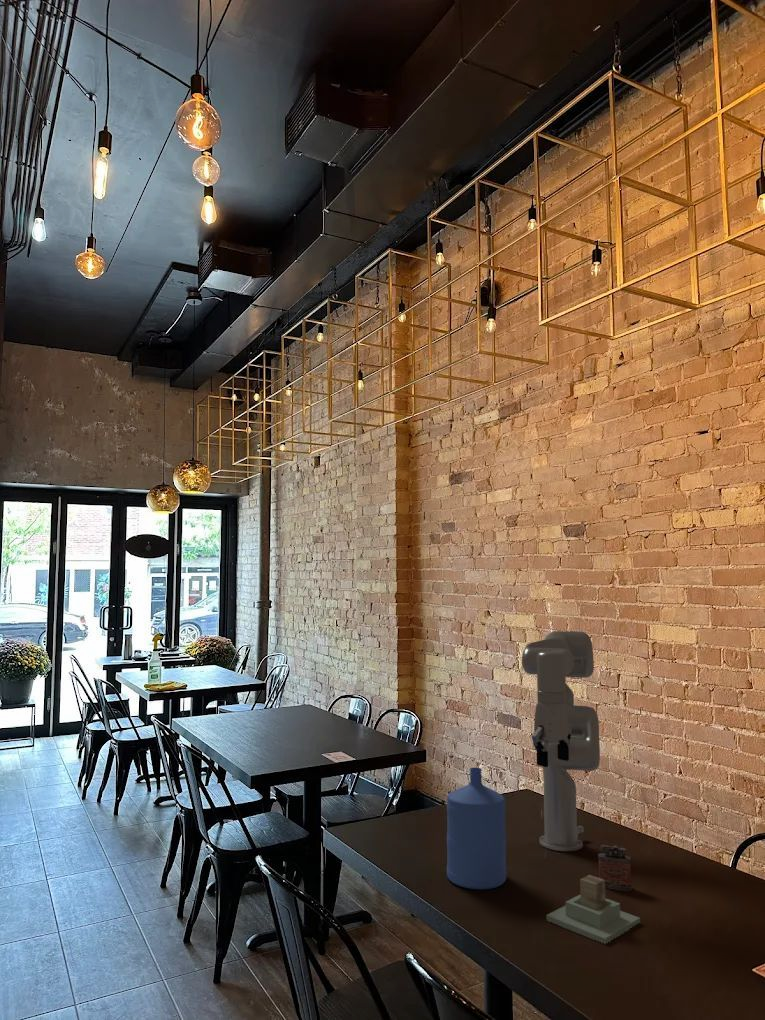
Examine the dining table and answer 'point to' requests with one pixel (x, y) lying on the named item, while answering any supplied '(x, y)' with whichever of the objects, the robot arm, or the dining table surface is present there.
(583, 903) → the birch peg
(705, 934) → the dining table surface
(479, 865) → the water jug
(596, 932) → the slot holder
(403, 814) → the dining table surface
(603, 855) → the lighter
